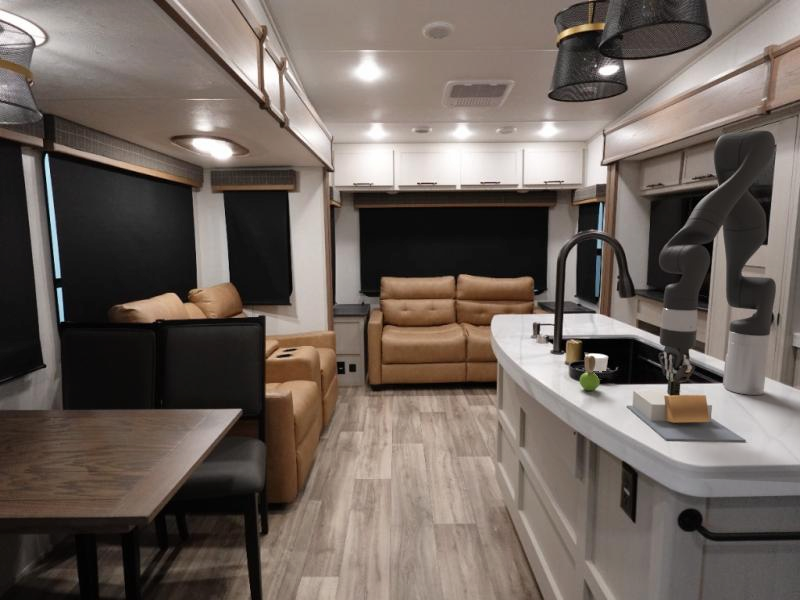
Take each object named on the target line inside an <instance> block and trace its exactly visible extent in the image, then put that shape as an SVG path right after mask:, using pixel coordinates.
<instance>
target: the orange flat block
mask: <svg viewBox="0 0 800 600" xmlns="http://www.w3.org/2000/svg"><path fill="white" fill-rule="evenodd" d="M664 399H665V407H666V415H667V421H669V422H674V423H676V422H709V415H708V408H707V403H708V402H707V401H708V400H707V395H705V394H694V395H672V396H664Z"/></svg>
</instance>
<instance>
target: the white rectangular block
mask: <svg viewBox="0 0 800 600" xmlns="http://www.w3.org/2000/svg"><path fill="white" fill-rule="evenodd" d="M680 395H695V394H694V393H692V392H690V391H685V390H684V391H683V390H682V391H681V390H680ZM664 396H670V395H669V394H668V393H667V390H633V392H632V406H634V407H635V408H636V409H637V410H639V411H640V412H641V413H642V414H643V415H645V416H646V417H647V418H648V419H649V420H651V421H667V415H666V407H665V399H664ZM707 408H708V415H709V422H711V418H712V412H713V411H712V410H713V404H711V403H710V402H707Z"/></svg>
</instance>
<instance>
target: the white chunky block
mask: <svg viewBox="0 0 800 600" xmlns="http://www.w3.org/2000/svg"><path fill="white" fill-rule="evenodd" d="M588 353H589V352H588ZM586 356H587V353H586V354H584V358H585V357H586ZM589 356H594V357H595V367H594V370H593V371H599V372H602V371H606V372H607V368H608V367H607V366H608V360H609V356H608V355H606V354H603V353H594V352H592V353H591V352H590V353H589V354H588V357H589Z"/></svg>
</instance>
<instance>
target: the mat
mask: <svg viewBox="0 0 800 600" xmlns="http://www.w3.org/2000/svg"><path fill="white" fill-rule="evenodd" d="M626 408H627V409H628V410H629V411H631V412H632V413H633V414H634V415H636V416H637V417H638V418H639V419H640V420H642V421H643V422H644V424H646V425H647V426H648V427H649V428H651V429H652V430H653V431H655V433H656V434H658V435H659V436H660V437H661V438H662V439H663V440H665V441H684V442H685V441H691V442H696V441H697V442H700V441H701V442H734V443H735V442H737V443H739V442H743V443H745V442H746V441H747V440H746V439H745V438H743V437H742V436H740V435H739V434H737V433H736V432H734V431H732V430H731V429H729V428H728V427H726V426H724V425H723V424H722V423H720V422H718V421H717V420H715V419H713V417H711V422H676V423H674V422H669V421H651V420H649V419H648V418H647V417H646V416H645V415H643V414H642V413H641V412H640V411H639V410H637V409H636V408H635V407H634V406H633V405H626ZM693 440H695V441H693Z"/></svg>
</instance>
